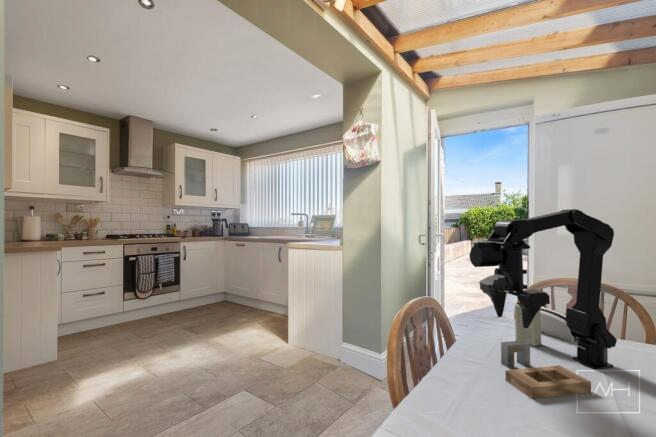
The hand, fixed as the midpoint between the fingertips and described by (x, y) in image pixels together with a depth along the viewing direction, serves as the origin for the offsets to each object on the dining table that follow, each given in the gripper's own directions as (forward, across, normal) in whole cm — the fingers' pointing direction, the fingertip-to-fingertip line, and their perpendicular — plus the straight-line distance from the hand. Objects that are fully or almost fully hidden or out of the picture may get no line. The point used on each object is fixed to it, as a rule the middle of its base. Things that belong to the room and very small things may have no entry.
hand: (512, 322), depth 84 cm
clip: (+12, -1, +2) cm, 13 cm away
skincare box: (+13, -14, +18) cm, 26 cm away
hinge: (+14, -20, +32) cm, 40 cm away
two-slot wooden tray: (+12, +10, +1) cm, 16 cm away
